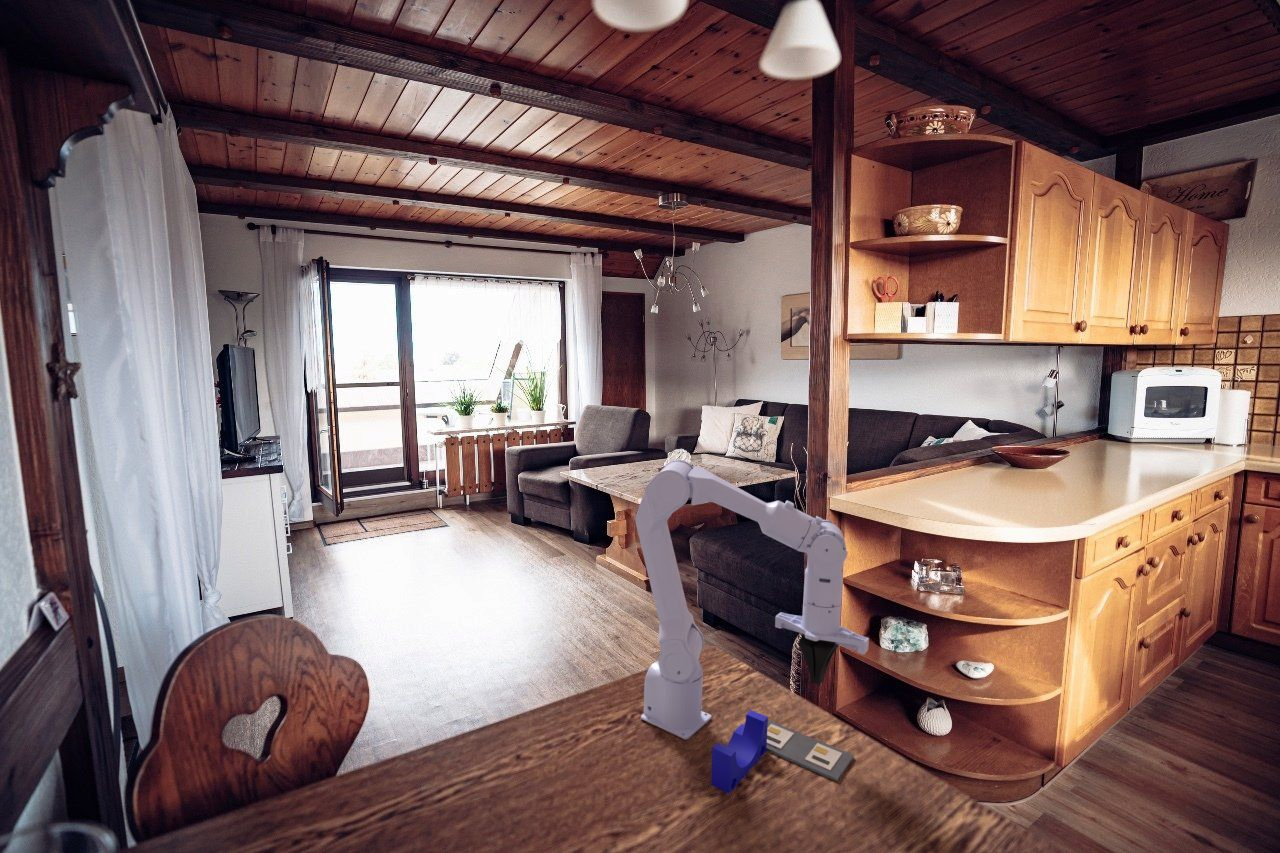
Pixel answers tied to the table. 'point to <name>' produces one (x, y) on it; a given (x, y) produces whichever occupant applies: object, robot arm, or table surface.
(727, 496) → the robot arm
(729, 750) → the cable clip
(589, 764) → the table surface
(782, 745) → the label board
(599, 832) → the table surface
